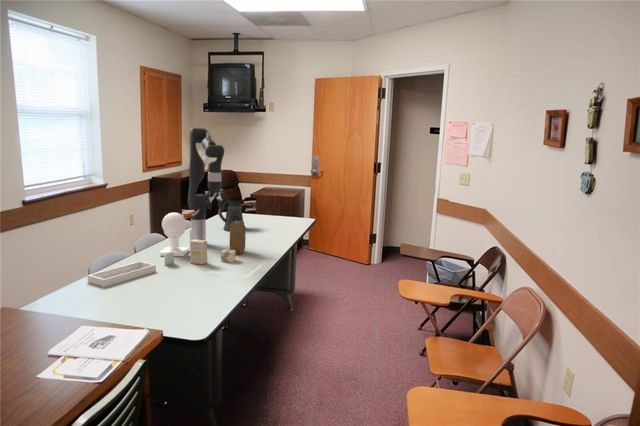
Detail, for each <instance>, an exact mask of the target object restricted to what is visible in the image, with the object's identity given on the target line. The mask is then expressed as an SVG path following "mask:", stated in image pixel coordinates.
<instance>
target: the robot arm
mask: <svg viewBox="0 0 640 426" xmlns="http://www.w3.org/2000/svg"><path fill="white" fill-rule="evenodd" d="M197 144H201V146H202V148H203V149H204V153H205V156H206V157H207V158H210V159H211V158H216V160H214V161H209V162H208V169H207V170H208V172H207V188H208V191H207V190H205V191H204V194H203V193H200V194H199V193H198V194H196V193H197V189H198V186H199V184H200V183H201V182H202V180H203V179H204V177H205V171H206V170H205V168H206V164H205V162H204V160H203V158H202V157H201V155H200V153H199V152H198V149H197ZM224 155H225V148H224V146H223V145H220V144H217V143H216V142H214V140H213V139H212V136H211V133H209V131H208V130H207V129H206V128H202V127H201V128H200V127H199V128H198V127H191V128H190V130H189V173H188V174H189V175H188V176H189V186H188V195H187V204H188V209H191V210H196V209H197V210H196V211H194V212H193V213H191V214H190V229H189V242H190V241H191V240H194V239H197V240H206V238H207V237H206V236H207V235H206V230H207V228H206V216H207V210H212V209H213V208H212V207H213V206H212V202H213V201H214V199H216V200H217V207H218V208H220V207H221V206H223V203H222V202H223V200H225V189H222V163H223V159H224ZM206 241H207V240H206Z"/></svg>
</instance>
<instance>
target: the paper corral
mask: <svg viewBox="0 0 640 426" xmlns="http://www.w3.org/2000/svg"><path fill="white" fill-rule="evenodd" d="M156 268H157V265H156V264H155V263H150V262H145V261H141V260H138V261H135V262H133V263H128V264H125V265H121V266H116V267H113V268H108V269H106V270H102V271H98V272H93V273H91V274H88V275H86V276H87V277H86V278H87V283H89V284H91V285H95V286H98V287H102V288H105V287H109V286H112V285H116V284H119V283H123V282H126V281H129V280H132V279H135V278H139V277H142V276H145V275H149V274H151V273H156V271H157V269H156Z"/></svg>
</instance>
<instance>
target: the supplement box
mask: <svg viewBox="0 0 640 426" xmlns="http://www.w3.org/2000/svg"><path fill="white" fill-rule="evenodd" d="M189 253H190V255H189V256H190V264H193V265H202V266H204V265H205V264H208V240H197V239H194V240H191V241H190V240H189Z"/></svg>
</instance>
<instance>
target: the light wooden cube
mask: <svg viewBox="0 0 640 426" xmlns="http://www.w3.org/2000/svg"><path fill="white" fill-rule="evenodd" d="M235 261H236V254H235V250H230V249H228V248H226V249H223V250H221V252H220V262H221V263H228V264H229V263H231V264H232V263H233V262H235Z"/></svg>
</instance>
